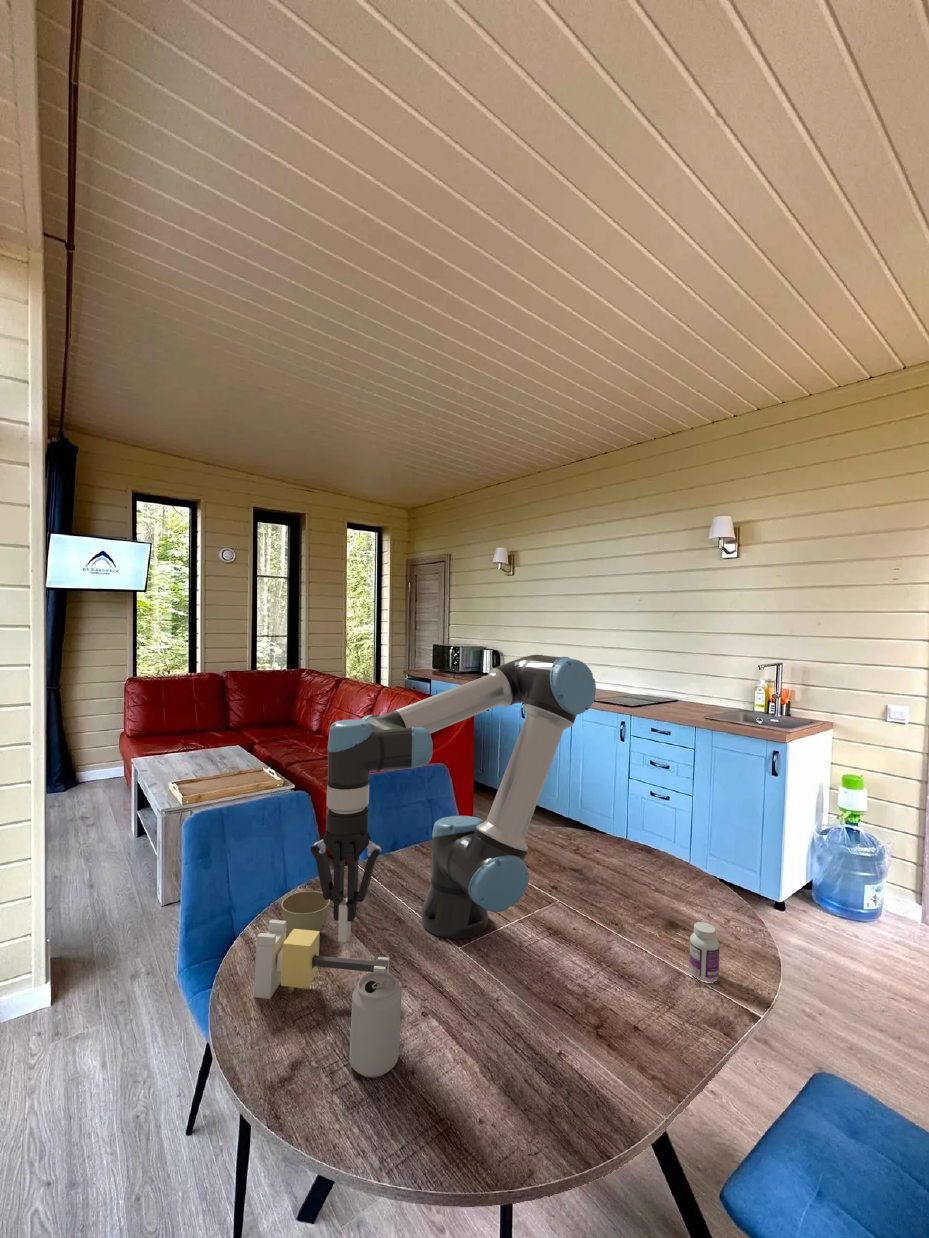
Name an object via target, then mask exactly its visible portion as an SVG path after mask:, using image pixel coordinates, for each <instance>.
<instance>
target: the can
mask: <svg viewBox="0 0 929 1238" xmlns="http://www.w3.org/2000/svg"><path fill="white" fill-rule="evenodd" d="M351 995H352V997H351V1016H350V1033H349V1034H350V1035H349V1036H350V1037H349V1038H350V1039H349V1055H348V1056H349V1064H350V1066H351V1068H352V1069H353V1070H354V1071H355V1072H356V1073H358V1074H360V1075H361V1076H363V1077H365V1078H377V1077H378V1078H379V1077H381V1076H385V1074H386V1073H388V1072H389V1071H390V1070H392V1069H393V1068H394V1067H395V1066H396V1064H397V1062H398V1060H399V1057H400V1040H401V1019H402V1018H401V1016H402V998H403V997H402V995H403V992H402V988H401V987H400V986H399V981H398V979H397V977H396V976H394V975H393V974H391V973H390V972H389V973H387V972H382V971H377V972H368V973H366V974H365V975H362V976H361V977H360V978H359V980H357V984H356V987H355V988H354V990H353V991H352V994H351Z"/></svg>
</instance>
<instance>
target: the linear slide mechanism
mask: <svg viewBox="0 0 929 1238" xmlns="http://www.w3.org/2000/svg"><path fill="white" fill-rule="evenodd" d="M286 922H287V921H284V920H281V919H280V920H279V919H270V920H269V922H268V928H267V929H268V931H267V932H266V933H263V932H259V934H258V935H257V936H256V947H255V961H254V962H255V963H254V964H255V965H254V986H253V998H258V999H259V998H260V999H267V1000H271V998H272V996H273V995H274V993H275V992H276V990H278V988H279V986H281V972H282V952H283V943H284V941H285V940H286V939H287V931H288V930H287V928H286ZM312 966H316V967H318V968H319V967H320V968H328V969H339V970H348V971H357V972H358V971H359V972H368V973H371V972H377V971H382V972H387V973H390V957H385V956H378V957H377V960H375V961H374V960H364V959H356V958H347V957H345V958H344V957H335V956H325V955H319V956H316V955H314V957H313V958H312Z"/></svg>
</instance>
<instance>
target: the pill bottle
mask: <svg viewBox="0 0 929 1238" xmlns="http://www.w3.org/2000/svg"><path fill="white" fill-rule="evenodd" d="M716 936H717V929H716V928H715V926H713V925H712V924H710V923H707V922H704V921H698V922H695V923H694V925H693V932H692V934H691V935H690V937H689V965H688V966H689V967H688V971H689V973H690V972H691V974H692V975H694V976H695V977H696V978H698V979H700V980H704V981H707V982H714V981H716V980H717V979H718V980H719V978H720V977H719V975H720V974H719V973H720V943H719V941H718V939H717V937H716ZM691 974H690V975H691ZM692 975H691V976H692Z"/></svg>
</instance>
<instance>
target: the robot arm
mask: <svg viewBox="0 0 929 1238" xmlns="http://www.w3.org/2000/svg"><path fill="white" fill-rule="evenodd" d="M596 685H597V684H596V680H595V678H594V676H593V672H592V670H591V669H590V667H589V666H588V665H587V664H586V663H584V662H583V661H581V660H580V659H576V658H571V657H568V656H553V655H544V654H530V655H527V656H523V657H520V658H517V659H514V660H512V661H509V662H505V663H504V664H501V665H498V666H495V667H493V668H491V669H490V670H489V671H488V673H487V675H484V676H481V677H480V678H476V679H474V680H471V681H469V682H467V683H463V684H460V685H458V686H455V687H453V688H450V689H448V690H445V691H442V692H440V693H437V694H435V695H432V696H429V697H426V698H424V699H421V700H419V701H416V702H413V703H411V704H408V705H406V706H404V707H401V708H398V709H396V710H392V711H390V712H387V713H384V714H382V715H380V714H379V715H378V714H368V715H365V716H364V717H362V718H361V719H342V720H336V721H334V722H333V723H332V724H331V725H330V727H329V732H328V741H327V748H326V749H327V781H326V782H327V783H326V784H327V786H326V807H327V809H326V811H325V812H326V815H325V832H324V833H325V834H324V835H323V836H322V837H323V839H321V840H317V841H315V843H314V844H313V845H311V847H310V852H311V854H312V855H313V857H314V859H315V862H316V863H315V864H316V867H317V872H318V877H319V882H320V887H321V891H322V893H323V897H324V899H325V900H328V899H329V900H330V902H332V903H333V914H332V915H333V920H334V921H338V928H337V930H338V931H337V933H338V934H337V942H338V943H347V942H348V940H349V938H350V936H351V935H352V934H351V933H352V931H351V930H352V929H351V928H352V927H351V925H352V922H354V921H355V919H356V916H357V903H362V902H364V899H365V898H366V896H367V894H368V891H369V887H370V883H371V881H372V876H373V873H374V868H375V866H376V861H377V858H378V857H379V856H380V854H381V852H382V850H383V846H382V844H376V843H375V842H374V841H372V839H371V838H372V837H371V835H370V833H369V817H370V816H369V814H370V813H369V807H368V805H369V802H370V782H371V781H370V774H371V773H374V772H375V773H378V772H386V771H395V770H406V769H411V770H412V769H414V768H421V767H424V766H427V765H428V764H429V763H430V761H431V759H432V757H433V752H434V751H433V750H434V749H433V748H434V747H433V745H434V744H433V740H432V736H431V734H432V733H435V732H439V730H443V729H444V728H447V727H449V726H452V725H455V724H456V723H459V722H461V721H464V720H467V719H470V718H472V717H474V716H476V715H479V714H482V713H484V712H486V711H488V710H492V709H493V708H495V707H496V708H497V707H498V706H501V707H503V708H508V707H510V706H512V705H515V704H523V705H522V707H523V709H524V711H525V713H526V715H525V718H524V721H523V724H522V727H521V729H520V732H519V735H518V737H517V740H516V743H515V744H514V747H513V751H512V753H511V755H510V758H509V761H508V764H507V766H506V768H505V771H504V774H503V776H502V779H501V782H500V785H499V787H498V789H497V791H496V795H495V797H494V799H493V802H492V805H491V808H490V810H489V813H488V815H487V818H486V820H485V821H483V819H482V818H480V817H475V816H469V815H451V816H446V817H442V818H440V819H437V820H436V821H435V822H434V824H433V828H432V834H431V839H432V840H431V841H432V842H431V864H430V865H431V867H430V868H431V869H430V886H429V889H428V891H427V894H426V896H425V900H424V902H423V905H422V907H421V918H420V919H421V924H422V926H423V928H424V929H426V931H427V932H429V933H431V934H432V935H434V936H437V937H439V938H445V939H454V940H458V939H459V940H460V939H462V940H463V939H469V938H472V937H476V936H478V935H479V934H481V933H482V932H484V931H485V930H486V928H487V926H488V920H489V919H488V918H489V917H488V916H489V914H488V912H492V913H498V912H499V913H500V912H501V913H502V912H505V911H507V910H508V909H509V908H511V907H514V906H515V905H517V904H518V902H519V901H521V899H522V898H523V897H524V895H525V893H526V891H527V889H528V885H529V881H530V874H529V872H528V867H527V864H526V863H525V859H526V857H527V854H528V850H529V847H528V844H527V843H526V840H525V837H526V834H527V831H528V829H529V825H530V823H531V821H532V818H533V815H534V812H535V810H536V806H537V804H538V801H539V799H540V796H541V793H542V790H543V787H544V785H545V782H546V779H547V776H548V774H549V771H550V768H551V765H552V764H553V760H554V757H555V755H556V752H557V749H558V746H559V744H560V741H561V738H562V736H563V733H564V731H565V730H566V729H568V728H571V727H573V726H574V725H575V720H576V719H577V716H578V715H581V714H584V713H585V712H586V711H588V710H589V709H590V708H592V707H591V706H592V705H593V703H594V701H595V699H596V694H597V686H596ZM327 849H328V852H329V853H330V854H331V856H332V857H333V858H332V859H333V861H332V864H333V865H332V866H333V876H332V872H331V867H330V863H329V857H328V853H327ZM366 849H367V852H366V854H367V856H368V858H367V861H366V864H365V868H364V870H363V875H362V878H361V883H360V886H358V885H359V861H360V856H361V855H362V854H363V853H364V851H365V850H366ZM345 861H346V862H347V864H346V865H347V891H346V893H345ZM332 877H333V878H332ZM358 887H359V888H358ZM358 889H359V890H358ZM345 894H346V895H347V896H346V897H344V895H345Z"/></svg>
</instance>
